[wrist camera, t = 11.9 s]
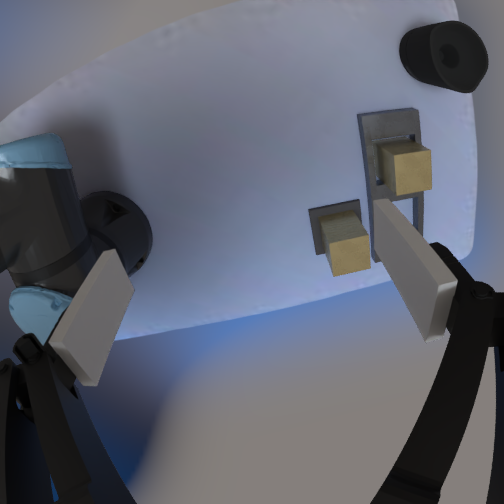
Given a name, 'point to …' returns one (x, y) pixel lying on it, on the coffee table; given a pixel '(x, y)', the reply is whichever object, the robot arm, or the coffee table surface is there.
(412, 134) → the rail
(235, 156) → the coffee table surface
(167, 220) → the coffee table surface
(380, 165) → the block
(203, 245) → the coffee table surface
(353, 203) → the rubber pad
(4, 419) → the robot arm
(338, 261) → the tan textured cube
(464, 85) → the pen holder
